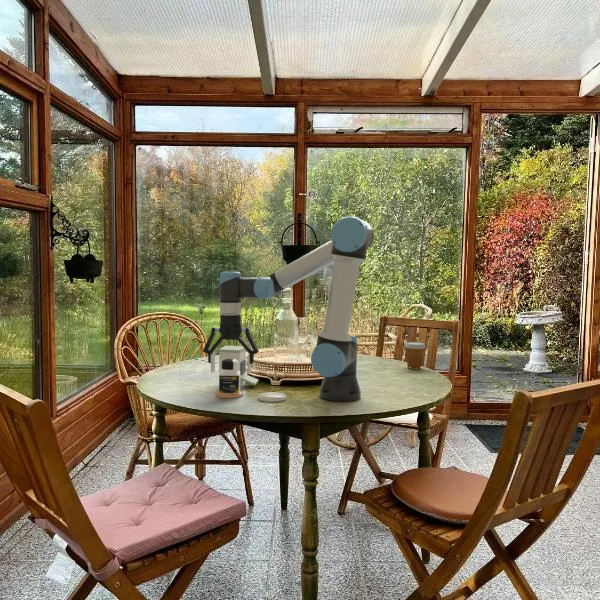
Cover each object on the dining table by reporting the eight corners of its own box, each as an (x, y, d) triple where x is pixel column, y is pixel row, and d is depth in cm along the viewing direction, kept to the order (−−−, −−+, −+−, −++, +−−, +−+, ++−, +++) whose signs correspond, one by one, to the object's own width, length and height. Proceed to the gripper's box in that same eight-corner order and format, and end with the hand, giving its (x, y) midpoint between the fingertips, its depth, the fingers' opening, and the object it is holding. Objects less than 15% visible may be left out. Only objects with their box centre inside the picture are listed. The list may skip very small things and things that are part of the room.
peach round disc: (245, 392, 207) (246, 389, 207) (239, 399, 197) (239, 395, 197) (219, 391, 208) (219, 388, 208) (212, 397, 198) (212, 394, 198)
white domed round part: (287, 396, 203) (287, 392, 203) (283, 402, 193) (283, 399, 193) (260, 394, 204) (260, 391, 204) (255, 401, 195) (255, 398, 194)
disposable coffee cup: (420, 366, 270) (421, 341, 269) (427, 370, 260) (428, 344, 260) (401, 366, 268) (402, 341, 268) (407, 370, 259) (408, 344, 258)
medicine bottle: (218, 394, 199) (219, 361, 198) (220, 389, 206) (221, 357, 205) (238, 394, 199) (239, 361, 199) (240, 389, 206) (240, 357, 206)
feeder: (259, 383, 223) (260, 346, 222) (254, 389, 213) (254, 350, 212) (225, 382, 225) (225, 345, 224) (218, 387, 214) (218, 349, 213)
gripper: (266, 313, 203) (266, 371, 204) (200, 313, 206) (200, 369, 207) (262, 315, 196) (262, 375, 197) (193, 314, 199) (194, 373, 200)
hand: (231, 372), depth 202 cm, fingers open, 13 cm apart
